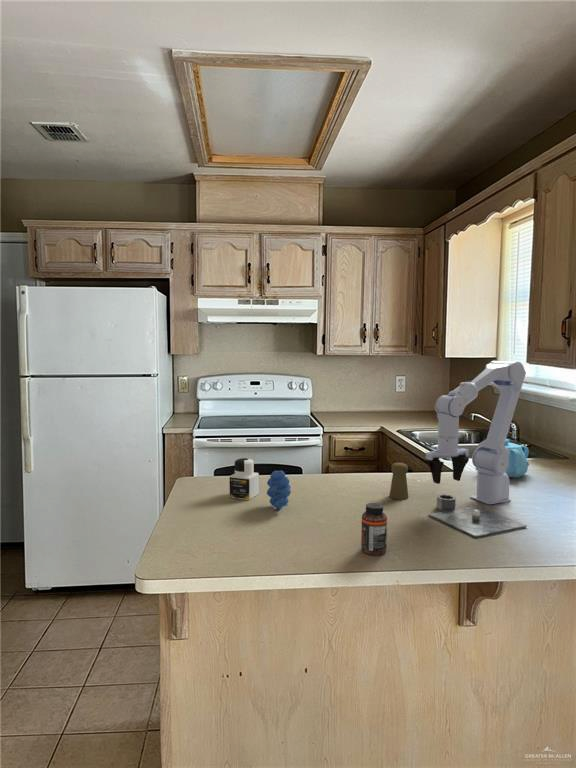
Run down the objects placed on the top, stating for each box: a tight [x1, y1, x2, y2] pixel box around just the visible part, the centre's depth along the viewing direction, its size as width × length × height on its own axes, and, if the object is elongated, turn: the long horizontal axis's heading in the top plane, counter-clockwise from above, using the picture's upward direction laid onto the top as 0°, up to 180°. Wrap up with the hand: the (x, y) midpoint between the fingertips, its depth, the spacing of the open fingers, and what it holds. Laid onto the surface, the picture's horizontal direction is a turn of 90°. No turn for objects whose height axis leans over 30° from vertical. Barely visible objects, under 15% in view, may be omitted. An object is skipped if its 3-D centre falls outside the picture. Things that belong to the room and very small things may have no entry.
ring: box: [436, 493, 456, 512], centre depth 152 cm, size 5×5×4 cm
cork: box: [388, 462, 410, 501], centre depth 163 cm, size 6×6×11 cm
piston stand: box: [428, 505, 527, 539], centre depth 141 cm, size 18×18×3 cm
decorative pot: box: [492, 438, 530, 479], centre depth 190 cm, size 16×16×14 cm
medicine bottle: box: [229, 457, 260, 501], centre depth 164 cm, size 7×7×12 cm
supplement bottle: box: [360, 502, 388, 556], centre depth 121 cm, size 6×6×11 cm
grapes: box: [266, 470, 292, 510], centre depth 152 cm, size 12×7×12 cm, turn 31°
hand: (446, 481), depth 152 cm, fingers open, 7 cm apart
